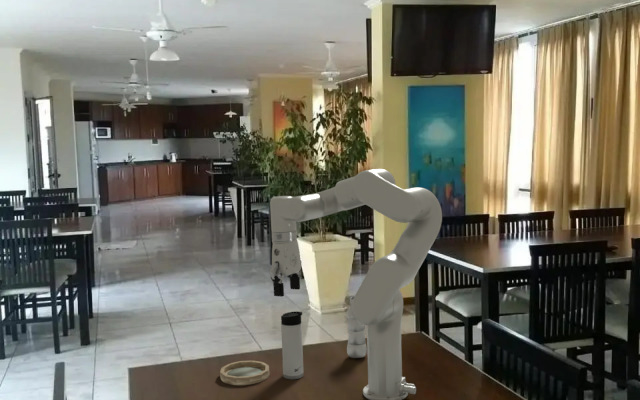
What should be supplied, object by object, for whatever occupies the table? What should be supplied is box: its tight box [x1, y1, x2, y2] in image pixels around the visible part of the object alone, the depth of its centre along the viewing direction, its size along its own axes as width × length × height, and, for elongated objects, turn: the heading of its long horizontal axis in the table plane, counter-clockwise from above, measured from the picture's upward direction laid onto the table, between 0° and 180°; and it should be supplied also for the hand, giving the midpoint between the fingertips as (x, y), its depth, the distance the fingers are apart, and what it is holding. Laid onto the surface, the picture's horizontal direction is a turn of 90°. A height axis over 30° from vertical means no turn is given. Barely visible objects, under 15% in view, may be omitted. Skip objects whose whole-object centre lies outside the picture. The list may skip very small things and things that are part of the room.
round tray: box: [219, 360, 270, 386], centre depth 192 cm, size 15×15×2 cm
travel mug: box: [280, 311, 304, 380], centre depth 190 cm, size 6×7×20 cm
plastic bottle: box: [346, 296, 368, 359], centre depth 205 cm, size 6×7×20 cm
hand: (287, 292), depth 189 cm, fingers open, 9 cm apart
